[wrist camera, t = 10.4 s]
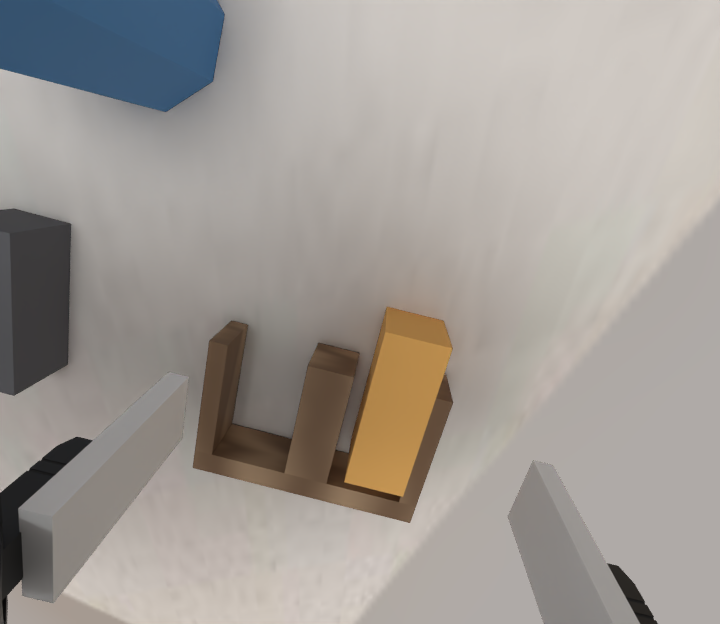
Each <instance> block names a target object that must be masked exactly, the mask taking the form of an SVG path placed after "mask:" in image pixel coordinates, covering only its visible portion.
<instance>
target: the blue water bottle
mask: <svg viewBox="0 0 720 624" xmlns="http://www.w3.org/2000/svg"><path fill="white" fill-rule="evenodd" d="M224 15H225V14H224V12H223V10H222V9H221V7H220V5H219V3H218V1H217V0H0V69H4V70H8V71H12V72H15V73H19V74H23V75H27V76H31V77H34V78H38V79H42V80H46V81H50V82H53V83H57V84H61V85H65V86H69V87H72V88H76V89H80V90H84V91H88V92H92V93H95V94H99V95H103V96H107V97H111V98H114V99H118V100H122V101H126V102H130V103H133V104H137V105H141V106H145V107H149V108H152V109H156V110H160V111H164V112H166V111H168V110H169V109H171V108H173V107H174V106H176V105H177V104H179V103H180V102H182V101H183V100H185V99H186V98H188V97H190V96H191V95H193V94H194V93H196V92H197V91H199V90H200V89H202V88H203V87H205V86H206V85H208V84H210V83H211V82H213V77H214V71H215V66H216V60H217V54H218V49H219V43H220V38H221V32H222V26H223V21H224Z"/></svg>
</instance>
